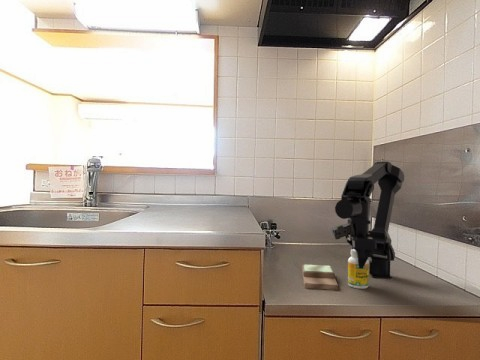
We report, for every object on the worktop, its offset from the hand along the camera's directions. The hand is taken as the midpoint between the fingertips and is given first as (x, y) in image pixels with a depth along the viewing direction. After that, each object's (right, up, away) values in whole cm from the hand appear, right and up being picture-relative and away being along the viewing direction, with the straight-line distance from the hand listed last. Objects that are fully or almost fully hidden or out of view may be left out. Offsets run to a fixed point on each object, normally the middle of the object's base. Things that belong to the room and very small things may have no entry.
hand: (358, 265), depth 106 cm
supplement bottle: (0, -7, 0) cm, 7 cm away
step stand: (-12, -6, +5) cm, 14 cm away
